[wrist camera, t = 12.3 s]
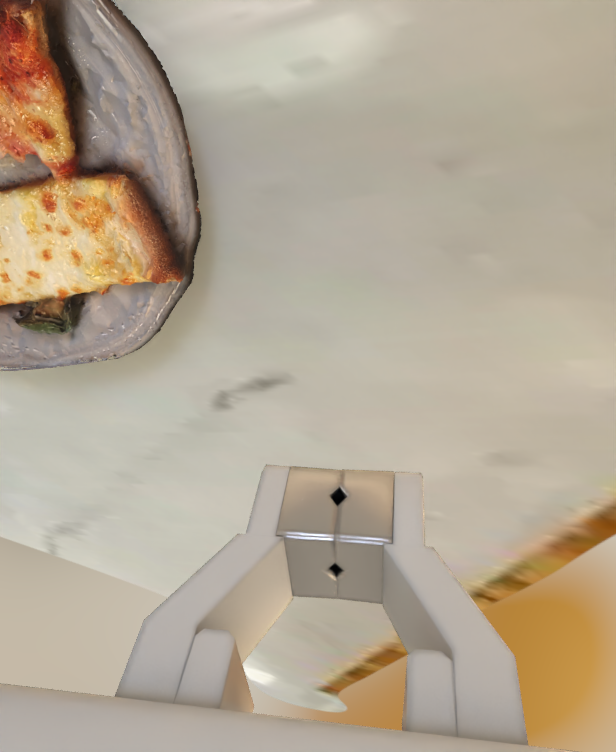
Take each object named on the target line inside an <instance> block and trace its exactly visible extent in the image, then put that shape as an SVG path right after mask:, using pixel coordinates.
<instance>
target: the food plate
mask: <svg viewBox="0 0 616 752" xmlns="http://www.w3.org/2000/svg"><path fill="white" fill-rule="evenodd" d="M162 67H163V66H162V65H161V62H160V61H159V60H158V59H157V57H156V55H155V54H154V52H153V50H151V49H150V47H148V43H147V42H146V41H145V39H144V38H143V37H142V35H141V33H140V32H139V31H138V30H137V29H136V28H135V26H134V25H133V24H132V23H131V22H130V20H128V19H127V17H126V16H124V15H123V12H122V11H121V10H119V9H118V7H116V6H115V3H114V2H112V1H111V0H0V367H2V368H3V367H4V368H21V369H1V370H0V371H17V370H31V369H41V368H53V367H57V366H67V365H76V364H83V363H91V362H92V361H93V362H96V361H98V360H97V359H102V360H99V361H103V360H107V359H108V358H109V357H112V356H116V358H114V359H117V358H120V357H122V356H125V355H127V354H129V353H131V352H134V351H135V350H138V349H140V348H141V347H142V346H143V345H145V344H146V343H147V342H148V341H150V340H151V339H152V337H153V336H154V335H155V334H156V333H158V332H159V331H160V330H161V329H160V328H161V327H162V326H163V324H164V323H165V321H166V319H168V317H169V315H170V313H171V311H172V310H173V308H174V306H175V305H176V304H177V302H178V301H179V300H180V298H181V297H182V294H183V293H185V290H187V288H188V287H189V285H190V284H191V281H192V279H193V275H194V274H193V271H194V270H193V269H194V261H193V260H194V258H195V257H194V255H196V254H195V253H196V249H197V246H198V242H199V239H200V237H201V235H200V231H201V218H200V217H201V215H200V211H199V208H198V207H197V206H198V203H197V201H198V190H197V182H196V179H195V176H194V173H195V172H194V168H193V164H192V154H191V149H190V146H189V142H188V138H187V132H186V129H185V125H184V119H183V115H182V111H181V108H180V105H179V104H178V101H177V97H176V94H174V92H173V88H172V87H171V86H170V82H169V80H168V78H167V77H166V73H165V71H164V70H163V69H162ZM86 360H87V361H89V362H80V361H86ZM109 360H111V359H109ZM5 366H7V367H5ZM33 366H34V367H33ZM35 366H36V367H35ZM22 367H32V368H22Z"/></svg>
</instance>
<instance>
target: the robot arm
mask: <svg viewBox="0 0 616 752" xmlns="http://www.w3.org/2000/svg"><path fill="white" fill-rule="evenodd" d="M293 596H298V597H315V598H332V599H344V600H352V601H361V602H370V603H379V604H383V608H384V609H385V611H386V613H387V615H388V617H389V619H390V621H391V623H392V625H393V626H394V628H395V630H396V632H397V634H398V636H399V638H400V640H401V642H402V643H403V645H404V647H405V649H406V651H407V653H408V656H407V668H406V681H405V693H404V694H405V695H404V706H403V719H402V731H400V730H392V729H383V728H375V727H366V726H358V725H350V724H341V723H332V722H324V721H316V720H307V719H298V718H290V717H282V716H273V715H265V714H257V713H253V708H254V704H253V700H252V697H251V693H250V690H249V687H248V683H247V680H246V676H245V672H244V669H243V666H242V663H243V662H244V661H245V660H246V658H247V657H248V656H249V655H250V653H251V652H252V651H253V649H254V648H255V647H256V646H257V644H258V643H259V642H260V641H261V639H262V638H263V637H264V635H265V634H266V633H267V632H268V630H269V629H270V628H271V626H272V625H273V624H274V623H275V621H276V620H277V619H278V618H279V616H280V615H281V614H282V612H283V611H284V610H285V609H286V607H287V606H288V605H289V603H290V602H291V601H292V600H293ZM0 752H578V751H569V750H561V749H552V748H543V747H535V746H528V741H527V734H526V727H525V721H524V714H523V707H522V700H521V694H520V687H519V680H518V673H517V667H516V660H515V656H514V655H513V653H512V652H511V651H510V649H509V648H508V647H507V645H506V644H505V643H504V641H503V640H502V639H501V637H500V636H499V635H498V633H497V632H496V630H495V629H494V628H493V627H492V625H491V624H490V622H489V621H488V620H487V619H486V617H485V616H484V614H483V613H482V612H481V610H480V609H479V608H478V606H477V605H476V604H475V602H474V601H473V600H472V598H471V597H470V596H469V594H468V593H467V592H466V590H465V589H464V588H463V586H462V585H461V584H460V582H459V581H458V580H457V578H456V577H455V576H454V574H453V573H452V572H451V570H450V569H449V568H448V566H447V565H446V564H445V562H444V561H443V560H442V558H441V557H440V556H439V554H438V553H437V552H436V550H435V549H434V548H433V547H425V529H424V496H423V476H422V474H421V473H410V472H395V473H394V471H369V470H344V469H342V470H334V469H321V468H308V467H295V466H292V467H291V466H277V465H266V466H265V467H264V469H263V471H262V474H261V477H260V481H259V485H258V489H257V493H256V496H255V500H254V504H253V508H252V511H251V515H250V519H249V523H248V526H247V530H246V534H237V535H236V536H235V537H234V538H233V539H232V540H230V541H229V542H228V543H227V544H226V545H225V546H224V547H223V548H222V549H221V550H220V551H218V552H217V553H216V554H215V555H214V556H213V557H212V558H211V559H210V560H209V561H208V562H206V563H205V564H204V565H203V566H202V567H201V568H200V569H199V570H198V571H197V572H196V573H195V574H193V575H192V576H191V577H190V578H189V579H188V580H187V581H186V582H185V583H184V584H183V585H181V586H180V587H179V588H178V589H177V590H176V591H175V592H174V593H173V594H172V595H171V596H169V597H168V598H167V599H166V600H165V601H164V602H163V603H162V604H161V605H160V606H159V607H157V608H156V609H155V610H154V611H153V612H152V613H151V614H150V615H149V616H148V617H147V618H146V619H144V621H143V624H142V626H141V629H140V631H139V634H138V637H137V639H136V642H135V645H134V647H133V650H132V653H131V655H130V658H129V661H128V663H127V666H126V668H125V671H124V674H123V676H122V679H121V681H120V684H119V686H118V689H117V692H116V694H115V697H112V696H104V695H94V694H86V693H78V692H69V691H61V690H53V689H44V688H35V687H27V686H18V685H10V684H1V683H0Z"/></svg>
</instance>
